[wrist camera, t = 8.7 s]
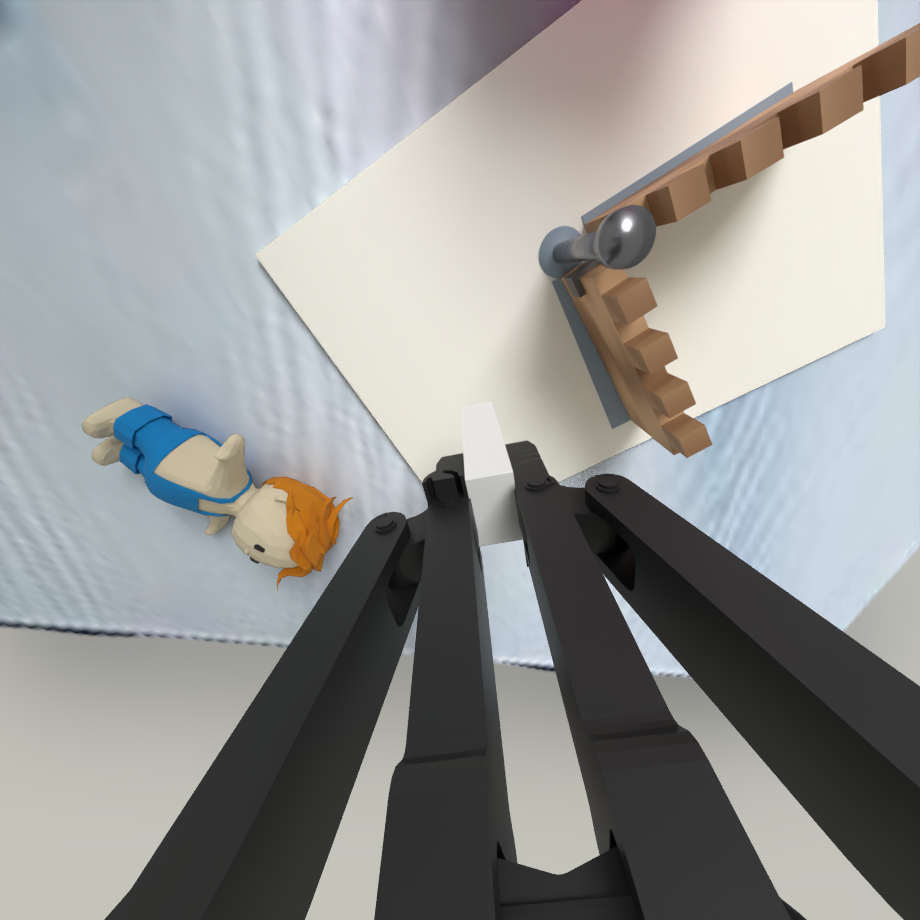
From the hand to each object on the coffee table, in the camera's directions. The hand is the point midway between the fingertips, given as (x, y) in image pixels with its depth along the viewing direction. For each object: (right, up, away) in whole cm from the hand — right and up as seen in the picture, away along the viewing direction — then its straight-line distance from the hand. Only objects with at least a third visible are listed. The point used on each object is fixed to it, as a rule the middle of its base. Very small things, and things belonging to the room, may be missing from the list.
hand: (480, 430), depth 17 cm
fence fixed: (+10, +13, +1) cm, 16 cm away
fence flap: (+8, +5, +4) cm, 10 cm away
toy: (-16, -2, +8) cm, 18 cm away
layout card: (+6, +8, +3) cm, 10 cm away
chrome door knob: (+4, +10, +2) cm, 11 cm away
